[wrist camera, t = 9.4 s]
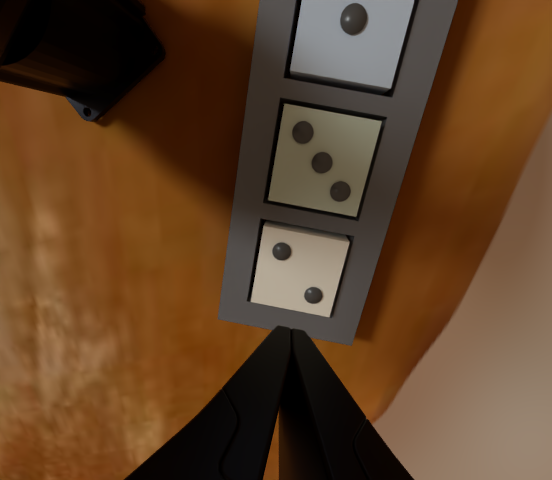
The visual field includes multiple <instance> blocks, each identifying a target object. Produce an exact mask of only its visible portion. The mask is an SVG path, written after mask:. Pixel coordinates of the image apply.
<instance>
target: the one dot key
mask: <svg viewBox="0 0 552 480" xmlns="http://www.w3.org/2000/svg"><path fill="white" fill-rule="evenodd" d="M413 4H414V0H302V2H301V8H300V14H299V20H298V26H297V32H296V38H295V44H294V50H293V55H292V61H291V67H290V75H291V79H292V80H297V81H303V82H308V83H314V84H320V85H325V86H331V87H336V88H342V89H347V90H353V91H358V92H364V93H369V94H375V95H380V96H381V95H382V94H383V93H385V92H386V91H388V90H389V89H391V86H392V82H393V78H394V74H395V71H396V67H397V63H398V60H399V56H400V52H401V48H402V45H403V41H404V37H405V34H406V30H407V26H408V22H409V19H410V15H411V11H412V8H413Z"/></svg>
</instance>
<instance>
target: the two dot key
mask: <svg viewBox="0 0 552 480" xmlns="http://www.w3.org/2000/svg"><path fill="white" fill-rule="evenodd" d="M349 243H350V242H349V241H348V239H347V237H346V235H345V234H340V233H335V232H330V231H324V230H319V229H314V228H309V227H304V226H298V225H293V224H288V223H283V222H277V221H272V220H266V222H265V224H264V226H263V232H262V238H261V244H260V250H259V256H258V262H257V268H256V274H255V279H254V285H253V291H252V297H251V302H254V303H259V304H264V305H269V306H274V307H279V308H284V309H289V310H294V311H299V312H305V313H310V314H315V315H320V316H325V317H330V313H331V309H332V306H333V302H334V298H335V294H336V291H337V287H338V283H339V280H340V276H341V272H342V269H343V265H344V261H345V257H346V254H347V250H348V246H349Z"/></svg>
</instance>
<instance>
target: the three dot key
mask: <svg viewBox="0 0 552 480" xmlns="http://www.w3.org/2000/svg"><path fill="white" fill-rule="evenodd" d="M381 123H382V121H377V120H372V119H366V118H361V117H356V116H350V115H345V114H339V113H334V112H328V111H323V110H317V109H312V108H306V107H301V106H295V105H290V104H284V109H283V115H282V120H281V126H280V132H279V138H278V144H277V150H276V156H275V162H274V168H273V174H272V180H271V185H270V191H269V197H268V200H270V201H276V202H281V203H286V204H291V205H297V206H302V207H307V208H313V209H318V210H323V211H328V212H334V213H339V214H344V215H350V216H355V217H356V215H357V212H358V208H359V204H360V201H361V197H362V193H363V189H364V186H365V182H366V178H367V175H368V171H369V167H370V164H371V160H372V156H373V152H374V149H375V145H376V141H377V138H378V134H379V130H380V126H381Z"/></svg>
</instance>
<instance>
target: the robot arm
mask: <svg viewBox="0 0 552 480" xmlns="http://www.w3.org/2000/svg"><path fill="white" fill-rule="evenodd" d="M145 14H146V12H145V6H144V5H143V3H142V2H141V0H0V81H1V82H5V83H9V84H14V85H18V86H22V87H26V88H31V89H35V90H39V91H43V92H47V93H52V94H56V95H60V96H64V97H66V98H67V100H68V101H69V102H70V103H71V105H72V106H73V107H74V108H75V110H76V111H77V112H78V113H79V115H80V116H81V117H82V118H83V119H84V120H86V121H90V122H95V121H97V120H98V119H99V118H101V117H102V116H103V115H104V114H105V113H106V112H107V111H108V110H109V109H110V108H111V107H112V106H114V105H115V104H116V103H117V102H118V101H119V100H120V99H121V98H122V97H123V96H124V95H125V94H126V93H128V92H129V91H130V90H131V89H132V88H133V87H134V86H135V85H136V84H137V83H138V82H139V81H141V80H142V79H143V78H144V77H145V76H146V75H147V74H148V73H149V72H150V71H151V70H152V69H154V68H155V67H156V66H157V65H158V64H159V63H160V62H161V61H162V60H163V59H164V58H165V54H166V51H165V48H164V46H163V44H162V43H161V41H160V40H159V38H158V37H157V36H156V34H155V33H154V31H153V30H152V28H151V27H150V26H149V24H148V23H147V21H146V20H145V18H144V17H143V16H144V15H145ZM156 46H157V47H158V52H157V54H155V55H154V54H153V48H154V47H156ZM89 109H90V110H91V116H89V115H88V110H89ZM278 411H279V480H414V479H413V478H412V476H411V475H410V474H409V473H408V471H407V470H406V469H405V468H404V466H403V465H402V464H401V463H400V461H399V460H398V459H397V458H396V457H395V455H394V454H393V453H392V451H391V450H390V449H389V447H388V446H387V445H386V443H385V442H384V441H383V439H382V438H381V437H380V435H379V434H378V433H377V431H376V430H375V428H374V427H373V426H372V424H371V423H370V421H369V420H368V419H366V416H365V414H364V413H363V412H362V410H361V409H360V407H359V406H358V405H357V403H356V402H355V400H354V399H353V398H352V396H351V395H350V393H349V392H348V390H347V389H346V388H345V386H344V385H343V383H342V382H341V381H340V379H339V378H338V376H337V375H336V374H335V372H334V371H333V369H332V368H331V367H330V365H329V364H328V362H327V361H326V359H325V358H324V357H323V355H322V354H321V352H320V351H319V350H318V348H317V347H316V345H315V344H314V343H313V341H312V340H311V338H310V337H309V336H308V334H307V333H306V331H305V330H302V329H296V328H292V329H290V327H287V326H282V325H277V326H276V327H275V328H274V329H273V330H272V331H271V333H270V334H269V335H268V336H267V337H266V338H265V339H264V341H263V342H262V343H261V344H260V345H259V346H258V347H257V349H256V350H255V351H254V352H253V353H252V354H251V355H250V357H249V358H248V359H247V360H246V361H245V362H244V363H243V364H242V366H241V367H240V368H239V369H238V370H237V371H236V372H235V374H234V375H233V376H232V377H231V378H230V379H229V380H228V382H227V383H226V384H225V385H224V386H223V387H222V389H221V390H219V392H218V393H217V394H216V395H215V396H214V397H213V398H212V400H211V401H210V402H209V403H208V404H207V405H206V406H205V407H204V408H203V409H202V410H201V411H200V412H199V413H198V414H197V415H196V416H195V417H194V418H193V419H192V420H191V421H190V422H189V423H188V424H187V425H185V426H184V427H183V428H182V429H181V430H180V431H179V432H178V433H177V434H175V435H174V436H173V437H172V438H171V439H170V440H169V441H167V442H166V443H165V444H164V445H163V446H162V447H161V448H159V449H158V450H157V451H156V452H155V453H154V454H153V455H151V456H150V457H149V458H148V459H147V460H146V461H145V462H143V463H142V464H141V465H140V466H139V467H138V468H137V469H135V470H134V471H133V472H132V473H131V474H130V475H129V476H127V477H126V478H125V479H124V480H263V476H264V472H265V467H266V463H267V459H268V454H269V450H270V446H271V441H272V437H273V432H274V428H275V424H276V419H277V415H278Z"/></svg>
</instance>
